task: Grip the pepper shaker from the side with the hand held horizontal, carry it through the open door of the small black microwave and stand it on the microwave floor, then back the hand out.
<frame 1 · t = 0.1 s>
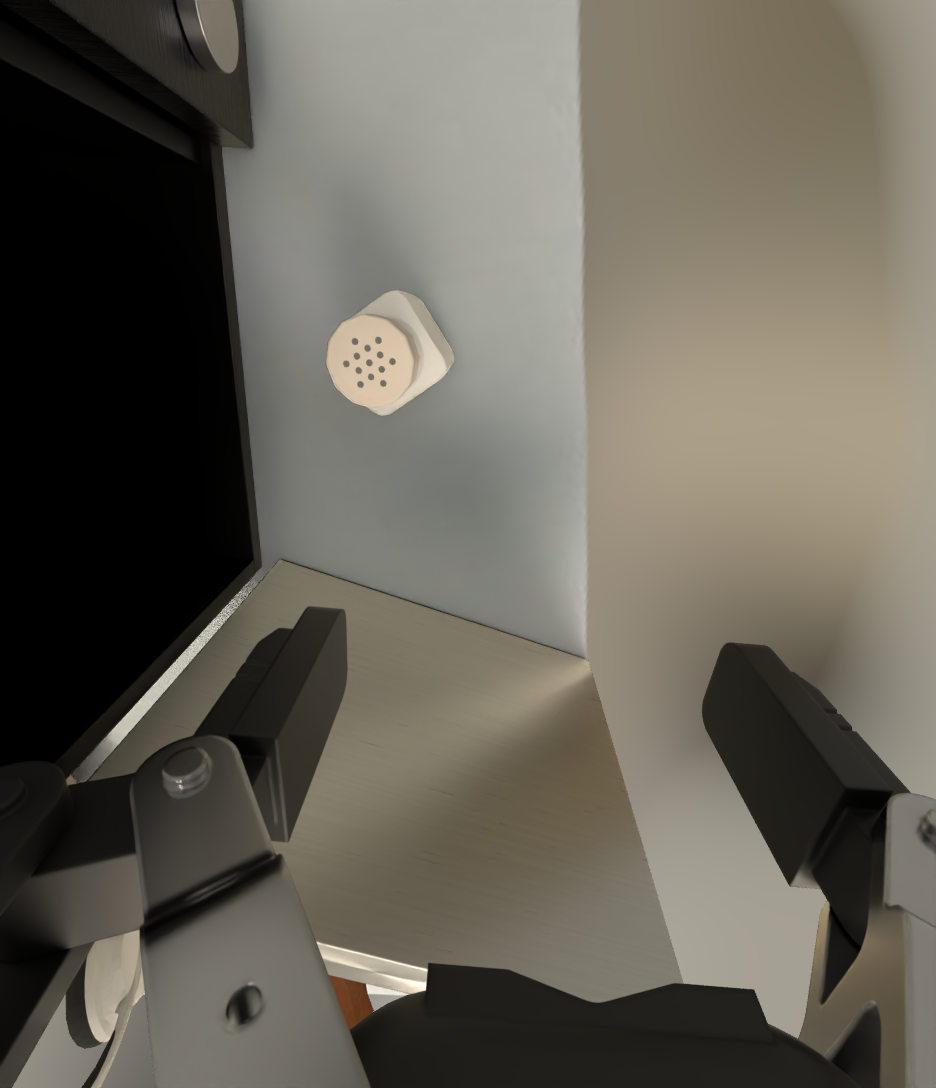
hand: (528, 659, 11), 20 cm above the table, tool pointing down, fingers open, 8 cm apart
microwave door: (405, 758, 25), point 10 cm above the table, hinge at 105.0°
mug: (369, 726, 38), on the table
headphones: (86, 914, 49), on the table
pepper shaker: (408, 348, 27), on the table
microwave: (33, 313, 27), on the table
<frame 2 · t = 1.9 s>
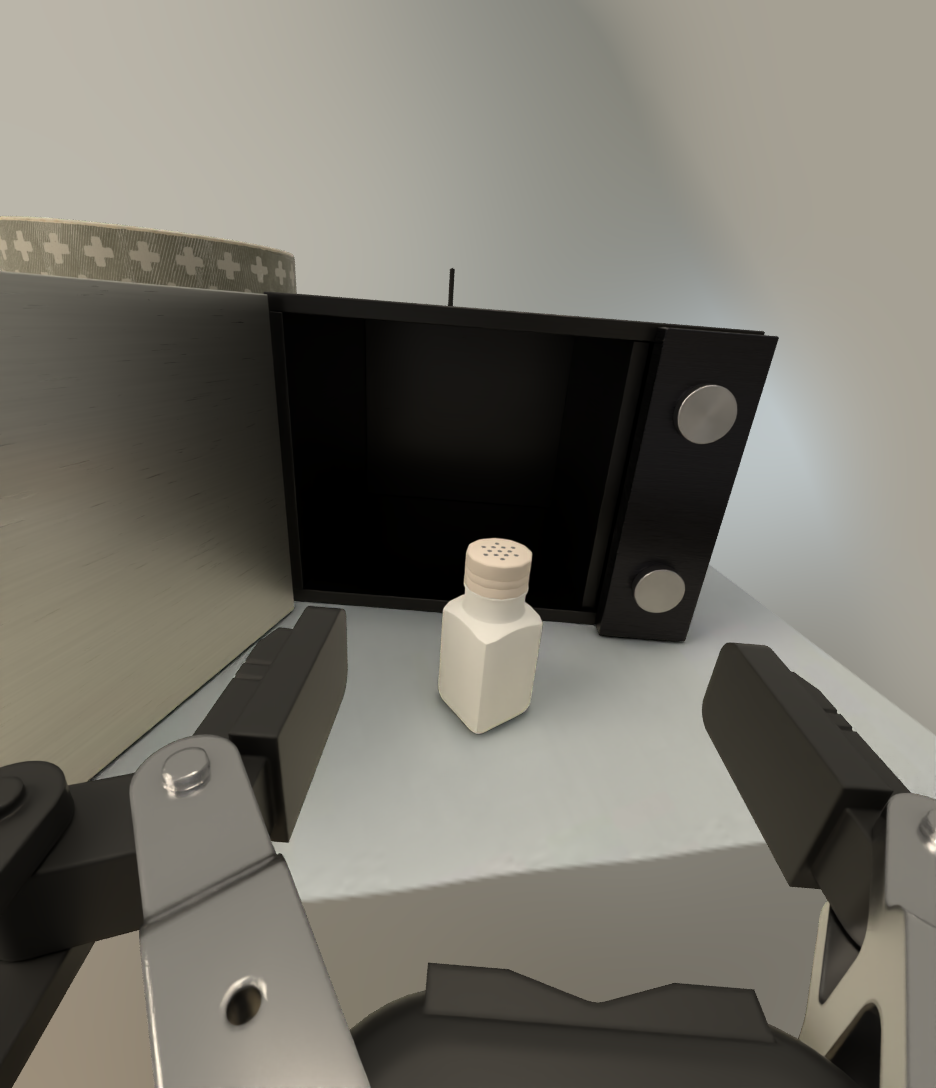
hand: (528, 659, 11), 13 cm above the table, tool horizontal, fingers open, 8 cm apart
microwave door: (78, 526, 22), point 10 cm above the table, hinge at 105.0°
planter: (196, 477, 59), on the table
pepper shaker: (482, 706, 28), on the table
microwave: (483, 550, 46), on the table
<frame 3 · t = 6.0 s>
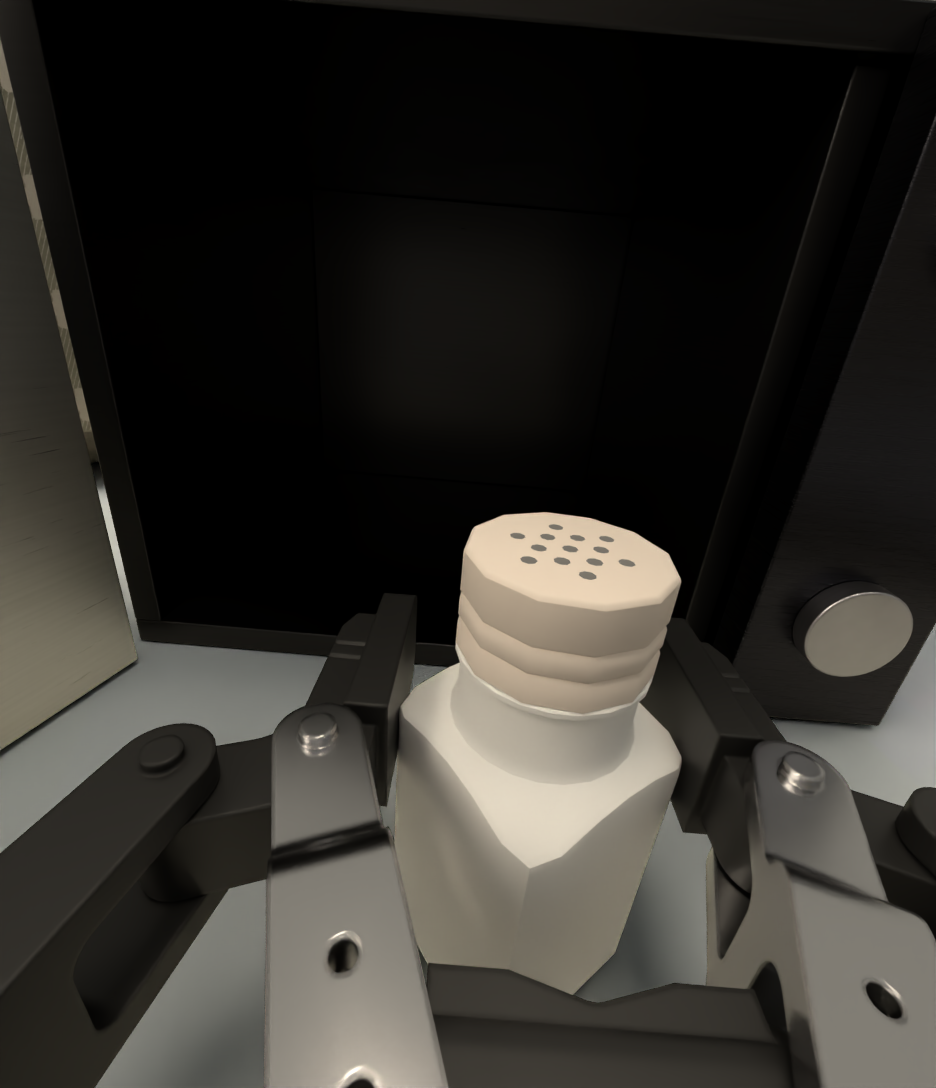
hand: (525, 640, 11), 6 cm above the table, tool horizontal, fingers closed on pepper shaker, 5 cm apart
planter: (91, 449, 42), on the table
pepper shaker: (500, 927, 12), on the table, touching gripper
microwave: (491, 551, 30), on the table
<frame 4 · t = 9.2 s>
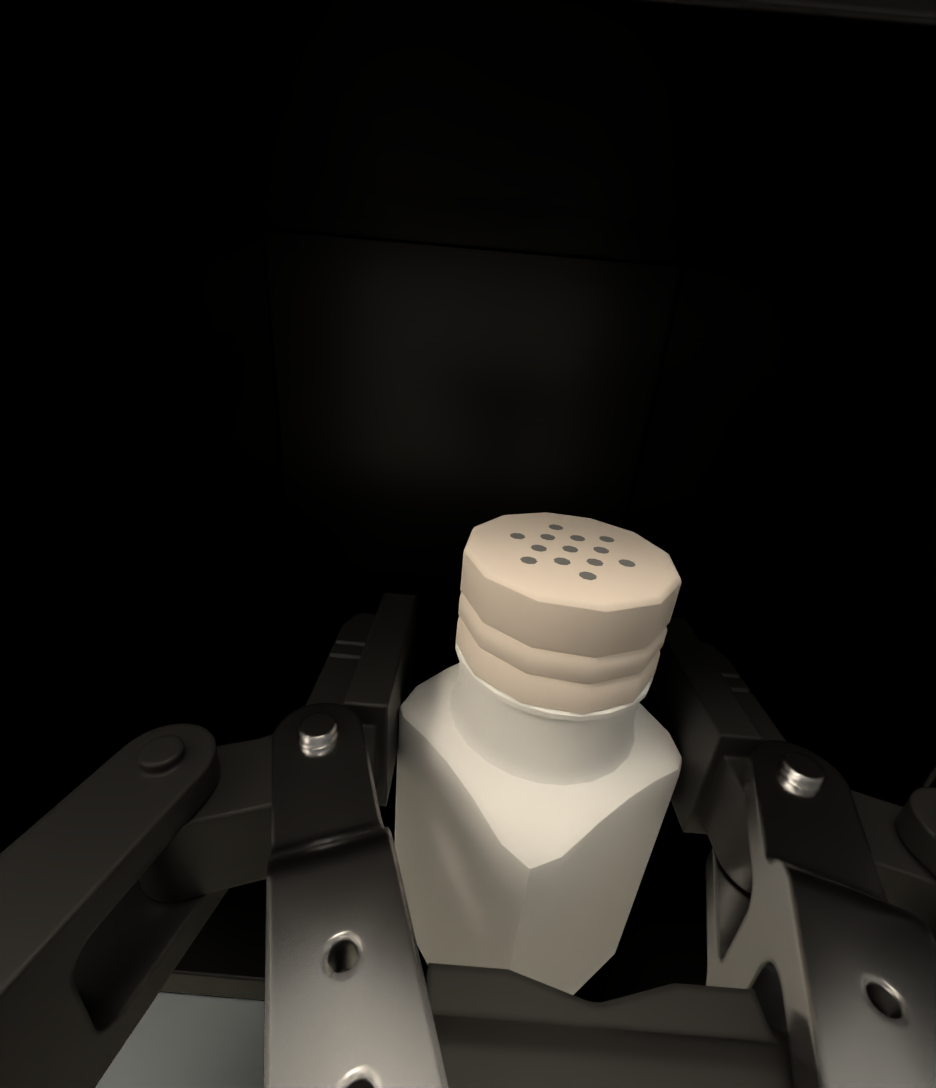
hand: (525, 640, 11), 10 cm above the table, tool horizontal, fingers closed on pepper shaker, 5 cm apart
pepper shaker: (500, 928, 12), point 3 cm above the table, touching gripper
microwave: (496, 709, 23), on the table
when the fingers open (7 cm above the table, at t = 12.5 s): pepper shaker stays where it is, resting on microwave.
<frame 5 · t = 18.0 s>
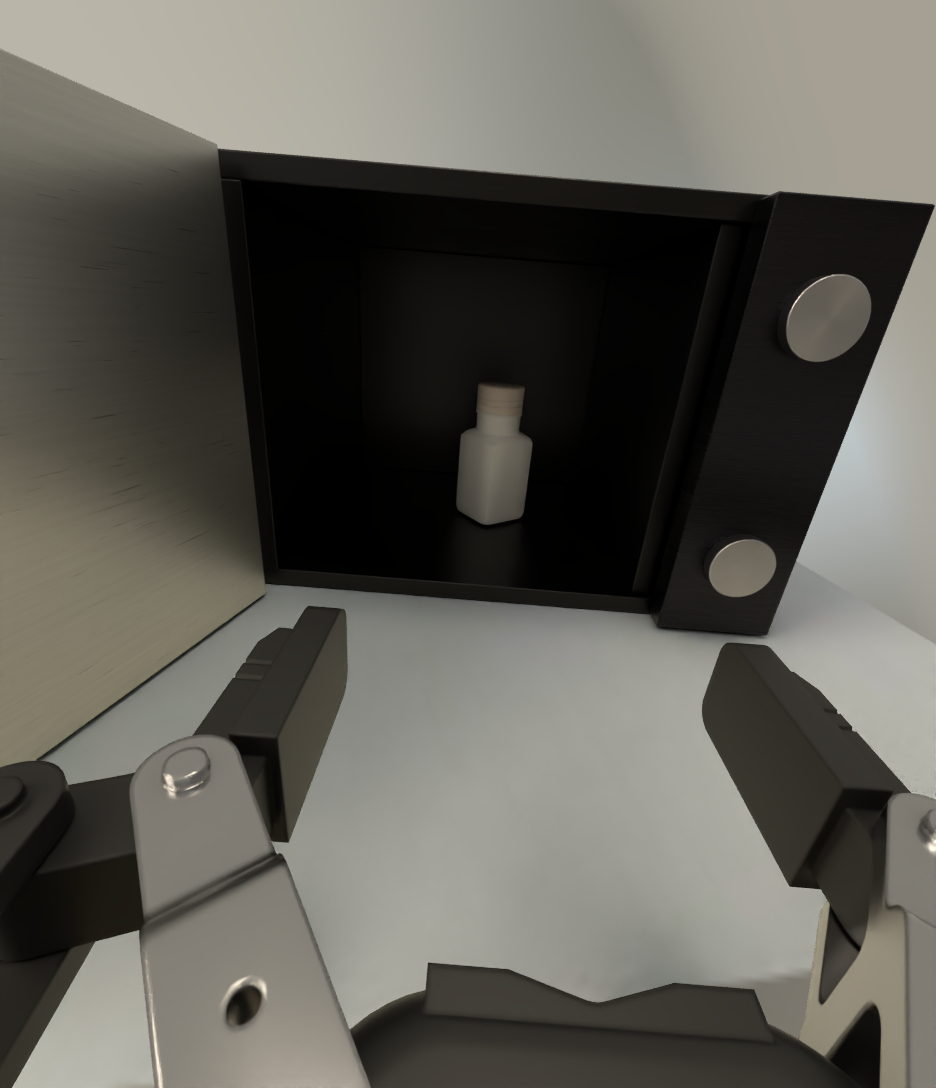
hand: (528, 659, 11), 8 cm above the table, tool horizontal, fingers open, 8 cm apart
pepper shaker: (488, 517, 38), point 1 cm above the table, touching microwave
microwave: (501, 528, 38), on the table
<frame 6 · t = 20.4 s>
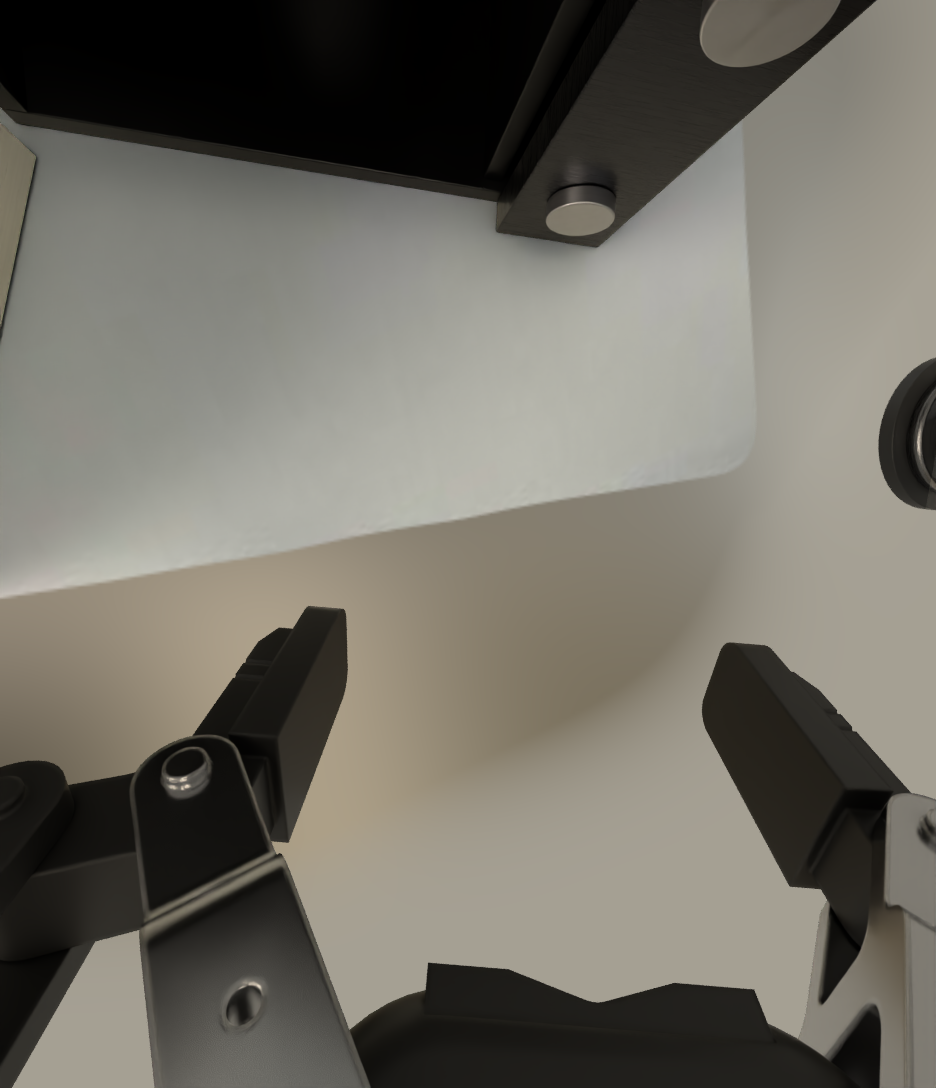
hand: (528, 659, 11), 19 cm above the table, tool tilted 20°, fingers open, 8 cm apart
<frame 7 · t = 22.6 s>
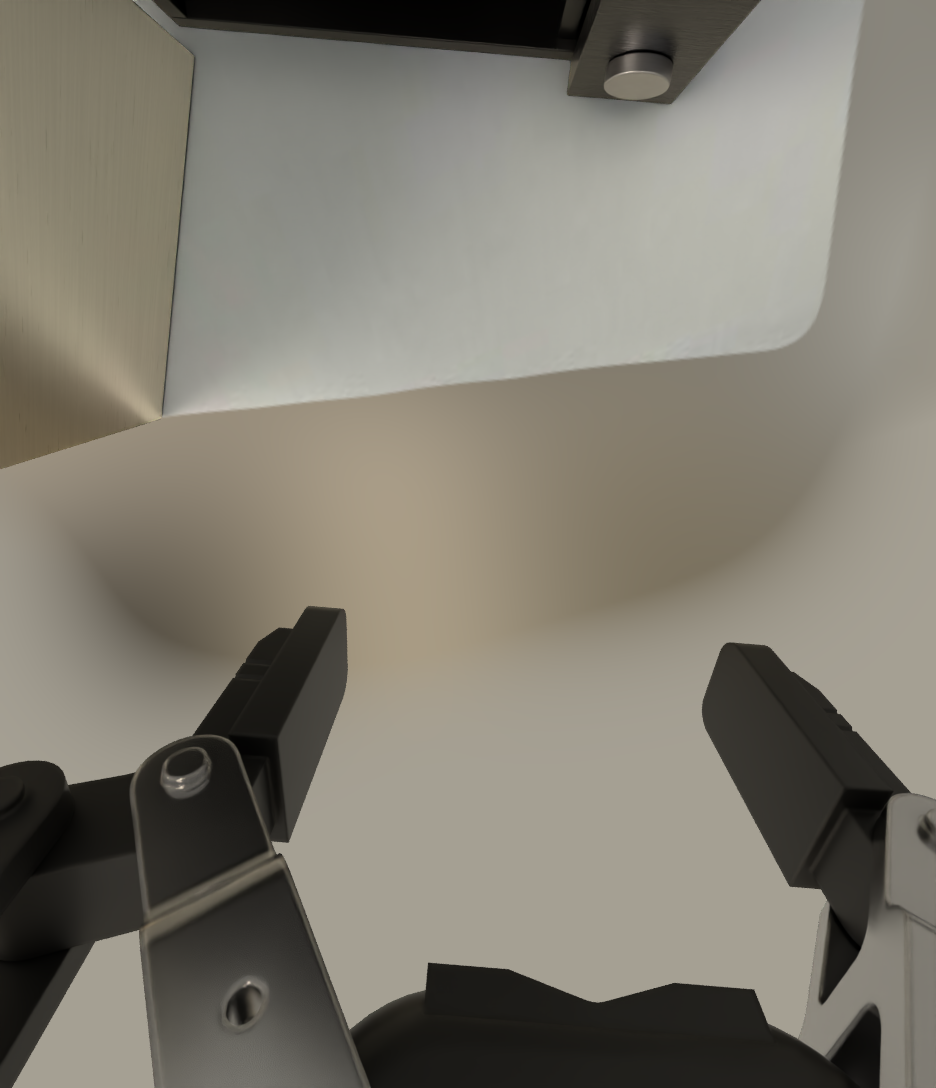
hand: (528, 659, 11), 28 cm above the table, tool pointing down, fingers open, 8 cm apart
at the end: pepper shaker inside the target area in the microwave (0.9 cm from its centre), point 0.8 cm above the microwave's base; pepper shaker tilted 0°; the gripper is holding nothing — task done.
